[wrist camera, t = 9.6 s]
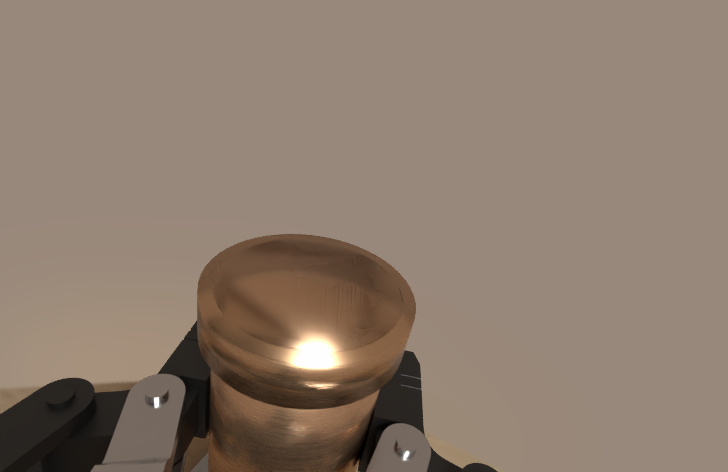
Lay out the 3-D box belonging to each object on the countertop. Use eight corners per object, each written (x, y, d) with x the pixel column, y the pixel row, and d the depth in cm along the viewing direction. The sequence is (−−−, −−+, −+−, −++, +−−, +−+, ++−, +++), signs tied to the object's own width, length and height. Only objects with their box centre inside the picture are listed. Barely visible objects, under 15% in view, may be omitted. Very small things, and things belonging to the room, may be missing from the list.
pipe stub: (160, 553, 12) (141, 293, 8) (260, 432, 17) (284, 218, 12) (295, 657, 11) (364, 410, 7) (367, 495, 15) (438, 278, 11)
